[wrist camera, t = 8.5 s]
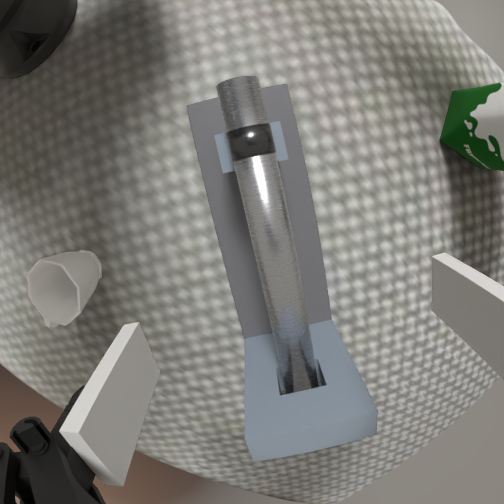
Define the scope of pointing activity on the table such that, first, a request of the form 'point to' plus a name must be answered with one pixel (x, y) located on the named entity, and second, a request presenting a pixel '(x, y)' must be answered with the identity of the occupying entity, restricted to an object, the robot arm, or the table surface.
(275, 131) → the rig
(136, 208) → the table surface
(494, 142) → the milk carton
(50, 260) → the cup
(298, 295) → the shaft
